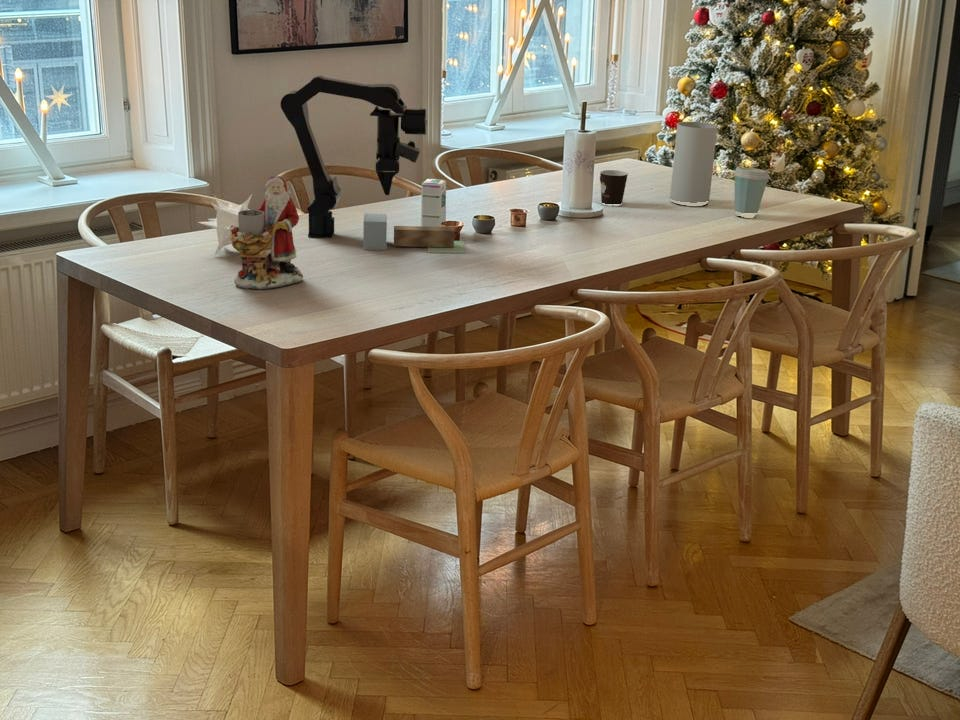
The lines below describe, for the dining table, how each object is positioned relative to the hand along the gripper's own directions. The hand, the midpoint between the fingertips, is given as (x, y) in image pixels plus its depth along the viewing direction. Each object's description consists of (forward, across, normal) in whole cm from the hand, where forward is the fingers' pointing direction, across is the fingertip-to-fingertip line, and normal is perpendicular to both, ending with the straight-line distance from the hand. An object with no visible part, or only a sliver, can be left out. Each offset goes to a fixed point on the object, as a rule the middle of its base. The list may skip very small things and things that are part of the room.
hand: (387, 191), depth 318 cm
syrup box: (+13, +8, -13) cm, 20 cm away
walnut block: (+13, -8, -10) cm, 18 cm away
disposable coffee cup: (+13, +36, -111) cm, 117 cm away
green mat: (+13, -8, -16) cm, 22 cm away
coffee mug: (+13, +50, -71) cm, 88 cm away
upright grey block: (+13, -8, +3) cm, 16 cm away
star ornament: (+13, -17, +39) cm, 45 cm away
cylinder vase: (+13, +53, -97) cm, 111 cm away
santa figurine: (+13, -43, +28) cm, 53 cm away
